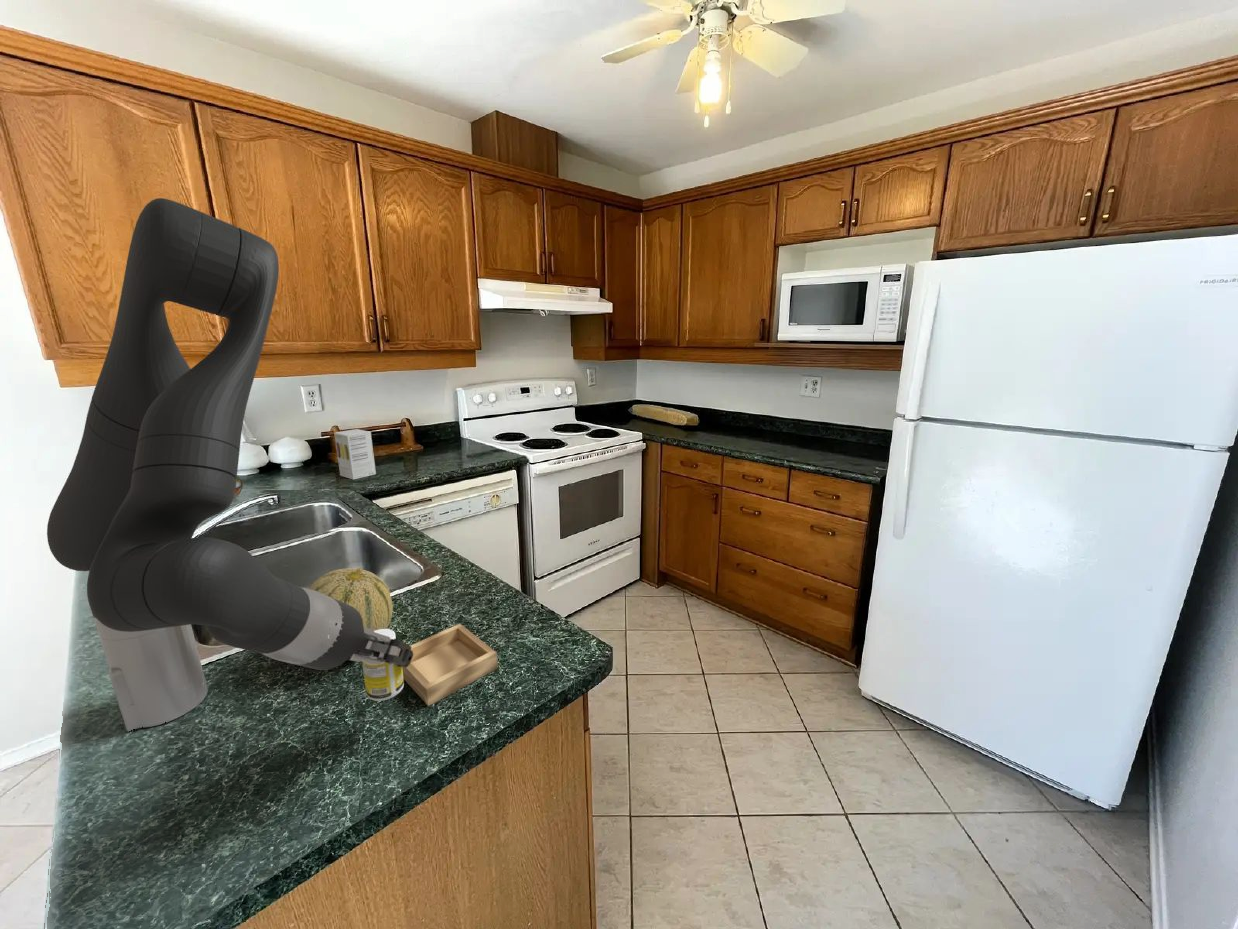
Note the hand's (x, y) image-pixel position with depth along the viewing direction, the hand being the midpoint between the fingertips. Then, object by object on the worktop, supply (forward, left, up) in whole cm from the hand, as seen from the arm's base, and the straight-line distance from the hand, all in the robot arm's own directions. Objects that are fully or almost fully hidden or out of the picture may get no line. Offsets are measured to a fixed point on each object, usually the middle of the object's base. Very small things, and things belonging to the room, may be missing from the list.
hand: (391, 655), depth 70 cm
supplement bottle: (-2, -1, -4) cm, 5 cm away
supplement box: (+41, +134, -11) cm, 140 cm away
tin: (-2, +136, -11) cm, 136 cm away
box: (+10, +5, -10) cm, 15 cm away
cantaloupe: (+1, +22, -10) cm, 24 cm away
